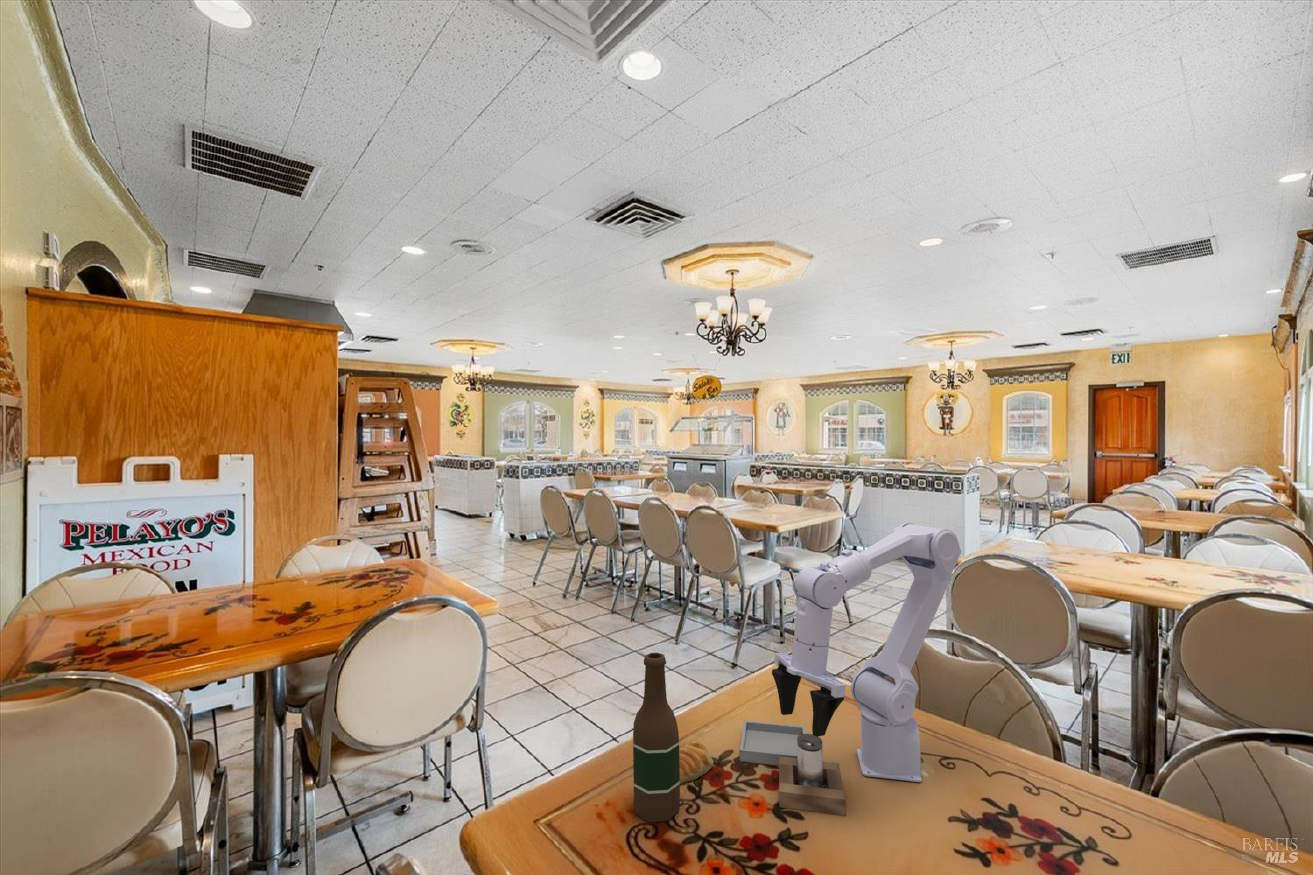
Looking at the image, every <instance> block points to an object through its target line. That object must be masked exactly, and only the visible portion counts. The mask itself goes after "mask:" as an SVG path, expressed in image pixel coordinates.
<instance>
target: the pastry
mask: <svg viewBox="0 0 1313 875" xmlns="http://www.w3.org/2000/svg"><path fill="white" fill-rule="evenodd" d="M679 760H680V785H682V784H683V783H688V782H690V781H691V782H692V781H695V780H698V778H699V777H702V775H705V774H707V773H708V772H709V771H710V770H711V769H712V767H713V766H714V760H713V758H712V754H710V752H709V750H708V747H707V746H706V745H705V744H703V743H702V742H700V741H690V740H689V742H688V743H686V744H684V745H683V746H681V747H680V746H679Z"/></svg>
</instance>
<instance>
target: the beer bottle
mask: <svg viewBox="0 0 1313 875" xmlns="http://www.w3.org/2000/svg"><path fill="white" fill-rule="evenodd" d="M666 664H667V660H666V656H665V654H663V653H661V652H649V653H647V654H645V655H644V658H643V665H644V666H645V669H644V670H645V671H644V688H643V689H644V690H643V691H644V692H643V698H642V699H643V700H642V705H641V706H640V708H639V709H638V710H637V712H636V714H635V718H634V721H633V728H632V729H633V731H632V750H633V752H632V753H633V754H632V756H633V757H632V758H633V759H632V760H633V761H632V764H633V767H632V768H633V770H632V771H633V775H632V776H633V806H634V808H633V809H634V813H635V815H636V816H638V817H640V819H643V820H645V821H646V822H648V823H658V822H659V823H660V822H668V821H670V820H671V819H672V818H673V817H674V816H675V815H677V814H678V813H679V811H680V809H681V808H680V806H681V804H680V803H681V786H680V785H681V784H680V760H679V748H680V735H679V727H678V726H679V725H678V721H677V718H676V715H675V713H674V711H673V709H672V708H671V706H670V705H669V703H668V699H667V683H666V671H665V670H666V669H665V665H666Z"/></svg>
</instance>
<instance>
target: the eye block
mask: <svg viewBox="0 0 1313 875" xmlns="http://www.w3.org/2000/svg"><path fill="white" fill-rule="evenodd" d="M841 772H842V771H841V768H840V762H835V761H825V760H824V761H823V785H824V784H825V785H826V788H825V787H823V788H818V787H810V786H802V785H798V784H794V781H798V759H797V758H790V757H781V756H779V766H778V774H779V775H778V776H779V777H778V778H779V779H778V801H779V802H778V803H779V804H778V805H779V808H783V809H791V810H797V811H798V810H799V811H805V812H806V811H807V812H814V813H818V814H819V813H821V814H828V815H837V816H843V817H846V815H847V814H846V812H847V808H846V807H847V804H846V803H847V802H846V800H847V799H846V794H845V790H844V784H843V779H842V773H841Z"/></svg>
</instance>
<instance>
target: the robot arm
mask: <svg viewBox="0 0 1313 875" xmlns="http://www.w3.org/2000/svg"><path fill="white" fill-rule="evenodd" d="M961 553H962V550H961V547H960V543H959V540H958V537H957V535H956V534H955V532H954V531H953V530H951V529H948V528H938V527H931V526H925V525H920V524H914V523H911V522H904V523H903V524H901V525H900V526H895V527H893V528H892V532H891V533H890V534H888V535H886V536H885V537H883V538H882V539H880V540H878V541H876V542H875V543H874V544H872V545H871V546H869V547H867V548H866V549H864V550H862V551H861V552H859V551H857V550H854V549H847V548H846V549H843V550H841V551H840V555H838V556H835V557H834V558H831V559H830V560H828V561H822V562H820V563H819V565H818V566H817V567H812V566H811V567H810V566H807V567H805V568H802V570H800V571H799V572H798V573H797V575H796V576H795V579H794V580H792V583H791V586H792V591H793V593H794V595H795V598H796V599H795V600H796V601H795V606H796V615H795V624H794V633H793V634H794V635H793V644H792V650H791V655H790V654H787V653H785V652H775V654H774V663H773V664H774V665H775V666H777V668H773V669H771V675H772V677H773V680H774V682H775V686H776V689H777V695H778V702H779V708H780V714H781V715H782V716H787V715H793V713H794V710H795V706H796V704H795V703H796V697H797V692H798V689H799V686H800V683H801V680H802V679H805V680H806V681H808V682H810V683H812V684H813V685H816V686H817V687H818V688H820V689H813V690H810V691H809V694H810V698H811V703H812V723H811V726H812V727H811V728H812V729H811V730H812V731H811V732H812V734H813V735H814V736H816V737H822V736H826V733H827V729H828V726H829V724H830V722H831V719H832V717H833V716H834V714H835V713H836V711H837V710H838V708H839V707H840V705H841V704H842V703H843V701H845V696H846V687H847V686H846V683H844V682H842V681H840V680H839V679H837V678H836V677H835V676H834V675H833V674H832V673H830V672H829V671H828V670H827V666H828V665H827V664H828V655H829V649H830V648H829V647H830V638H831V628H832V627H831V626H832V619H833V609H834V607H837V606H838V605H839V604H840V602H841V601H842V598H843V596H844V595H845V594H847V592H849V591H851V590H853V589H854V588H856V587H858V586H859V585H862V584H863V583H865V582H867V581H869V580H870V578H872V577H871V576H872V573H873V572H872V571H873V570H875V569H878V568H879V567H881V566H884V565H886V564H889V563H891V562H893V561H896V560H898V559H900V558H902V560H903V562H904V564H905V565H906V566H907V568H908V570H909V571H910V572H911V573H912V576H913V581H912V583H911V585H910V588H909V590H908V593H907V595H906V597H905V599H904V601H903V604H902V606H901V607H900V610H899V612H898V615H897V617H896V619H895V621H894V623H893V626H892V628H891V630H890V633H889V635H888V636H887V639H886V641H885V643H884V646H883V647H882V650H881V652H880V654H878V655H876V656H874V657H870V658H868V659H866V660H865V661H864V663H863V666H862V667H861V669H859V671H858V672H856V674H855V675H854V677H853V678H852V681H851V685H850V692H851V695H852V697H853V699H854V701H856V702H857V708H858V710H859V711H860V735H861V738H860V739H861V740H860V741H861V745H860V746H861V747H860V748H857V749H856V755H857V758H858V762H859V765H860V770H861V774H862V775H863V776H865V777H871V778H872V777H873V778H880V779H888V780H889V779H890V780H899V781H906V782H914V783H915V782H916V783H922V782H923V781H922V776H921V775H922V774H921V772H922V769H921V768H922V767H921V737H920V730H919V726H918V722H917V720H916V718H914V717H913V715H914V713H915V707H916V699H917V698H916V697H917V695H918V692H919V690H920V688H919V686H918V683H917V681H916V679H915V678H914V675H913V674H912V669H913V667H914V665H915V662H916V660H917V658H918V655H919V653H920V650H921V649H922V646H923V644H924V641H925V640H926V636H927V634H928V632H929V630H930V628H931V625H932V622H933V621H934V619H935V616H936V613H937V612H938V610H939V607H940V604H941V603H942V600H943V599H944V598H943V597H944V596H945V593H946V592H947V591H946V590H947V589H948V587H949V583H950V579H951V576H952V575H953V572H954V569H955V567H956V565H957V563H958V561H959V558H960V556H961ZM888 678H889V679H888ZM890 679H892V680H894V681H895V682H894V681H892V680H890Z"/></svg>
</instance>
